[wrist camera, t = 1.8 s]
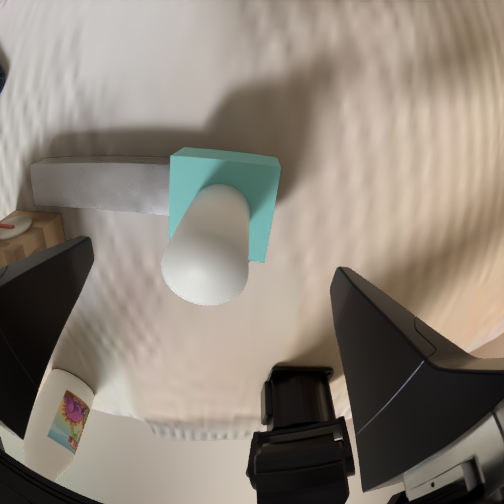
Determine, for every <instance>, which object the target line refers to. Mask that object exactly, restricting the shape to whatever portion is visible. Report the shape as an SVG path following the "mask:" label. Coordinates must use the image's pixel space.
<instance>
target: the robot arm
mask: <svg viewBox="0 0 504 504" xmlns="http://www.w3.org/2000/svg"><path fill="white" fill-rule="evenodd" d="M93 262H94V253H93V247H92V241H91V239H90V238H89V237H86V236H79V237H76V238H74V239H71V240H68V241H66V242H63V243H60V244H58V245H55V246H52V247H50V248H47V249H45V250H42V251H40V252H37V253H35V254H32V255H30V256H27V257H25V258H23V259H20V260H18V261H15V262H13V263H11V264H9V265H6V266H4V267H2V268H0V426H2V427H3V428H5V429H6V430H8V431H9V432H11V433H12V434H14V435H15V436H17V437H18V438H20V439H22V440H24V437H25V434H26V430H27V426H28V422H29V419H30V415H31V412H32V409H33V405H34V402H35V399H36V396H37V393H38V390H39V389H38V388H39V387H40V384H41V381H42V378H43V376H44V373H45V370H46V368H47V365H48V363H49V360H50V358H51V355H52V353H53V350H54V348H55V346H56V343H57V341H58V339H59V337H60V334H61V332H62V330H63V328H64V326H65V324H66V321H67V319H68V317H69V315H70V313H71V311H72V309H73V307H74V305H75V303H76V301H77V299H78V297H79V295H80V293H81V291H82V288H83V286H84V284H85V281H86V279H87V276H88V274H89V272H90V269H91V267H92V265H93ZM330 295H331V303H332V312H333V321H334V327H335V332H336V337H337V341H338V346H339V350H340V355H341V360H342V364H343V369H344V374H345V379H346V384H347V390H348V395H349V401H350V406H351V412H352V418H353V424H354V430H355V435H356V436H355V437H356V444H357V452H358V458H359V466H360V475H361V484H362V490H363V493H364V492H368V491H372V490H376V489H380V488H383V487H387V486H390V485H394V484H397V483H400V482H403V483H404V487H405V491H403V492H400V493H398V494H395V495H393V496H392V497H391V499H390V500H389V502H388V503H387V504H504V358H493V359H482V358H477V357H474V356H472V355H470V354H468V353H467V352H465V351H464V350H462V349H461V348H460V347H458V346H457V345H455V344H454V343H452V342H451V341H449V340H448V339H447V338H445V337H444V336H442V335H441V334H439V333H438V332H436V331H435V330H434V329H432V328H431V327H430V326H428V325H427V324H426V323H424V322H423V321H422V320H420V319H419V318H418V317H416V316H414V314H412V313H411V312H410V311H408V310H407V309H406V308H404V307H403V306H402V305H400V304H399V303H398V302H396V301H395V300H393V299H392V298H391V297H389V296H388V295H387V294H385V293H384V292H383V291H381V290H380V289H378V288H377V287H376V286H374V285H373V284H371V283H370V282H369V281H367V280H366V279H364V278H363V277H362V276H360V275H359V274H357V273H356V272H355V271H353V270H352V269H350V268H348V267H341V266H340V267H338V268H337V269H336V271H335V274H334V277H333V280H332V283H331V286H330ZM333 373H334V371H333V368H299V367H274V368H272V370H271V373H270V376H269V379H268V381H265V382H264V385H263V388H262V391H261V423H262V424H263V425H267V431H265V432H260V431H258V432H254V434H253V439H252V441H251V448H250V455H249V461H248V467H247V470H246V475H247V477H249V478H250V482H251V485H252V487H253V489H255V490H256V491H257V504H345V502H346V501H347V499H348V497H349V486H348V479H347V477H349V476H353V475H355V466H354V459H353V454H352V448H351V444H350V439H349V435H348V431H347V426H346V422H345V418H344V416H341V417H338V418H337V419H336V416H335V410H334V405H333V400H332V395H331V391H330V386H329V380H330V378H331V377H332V375H333ZM337 438H341V440H337V441H335V440H334V439H337ZM0 504H103V503H100V502H98V501H95V500H92V499H90V498H87V497H85V496H82V495H80V494H78V493H75V492H73V491H71V490H69V489H67V488H65V487H63V486H60V485H59V484H57V483H55V482H53V481H51V480H49V479H47V478H45V477H43V476H42V475H40V474H38V473H36V472H35V471H33V470H31V469H30V468H28V467H26V466H25V465H23V464H21V463H20V462H18V461H17V460H15V459H14V458H12V457H11V456H9V455H8V454H7V453H5V450H4V447H3V444H2V441H1V437H0Z"/></svg>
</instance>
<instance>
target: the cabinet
mask: <svg viewBox="0 0 504 504" xmlns="http://www.w3.org/2000/svg"><path fill="white" fill-rule="evenodd" d="M63 242H66V241H65V236H64V231H63V225H62V219H61V214H57V213H45V212H31V211H17V210H15V211H14V212H12V213H11V214H9V215H8V216H7V217H5V218H4V219H2V220H1V221H0V268H2V267H4V266H6V265H9V264H11V263H13V262H15V261H18V260H20V259H23V258H25V257H27V256H30V255H32V254H35V253H37V252H40V251H42V250H45V249H47V248H50V247H52V246H55V245H58V244H60V243H63Z"/></svg>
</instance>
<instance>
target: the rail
mask: <svg viewBox="0 0 504 504" xmlns="http://www.w3.org/2000/svg"><path fill="white" fill-rule="evenodd" d="M30 175H31V184H32V192H33V199H34V205H42V206H58V207H73V208H88V209H101V210H113V211H125V212H137V213H148V214H158V215H169V180H170V158H166V157H143V156H75V157H54V158H45V159H43V160H40V161H38V162H36V163H33V164H31V165H30Z"/></svg>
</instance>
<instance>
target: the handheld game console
mask: <svg viewBox="0 0 504 504" xmlns="http://www.w3.org/2000/svg"><path fill="white" fill-rule="evenodd" d="M3 84H4V74H3V71H2V69H1V67H0V92H1V90H2V87H3Z"/></svg>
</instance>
